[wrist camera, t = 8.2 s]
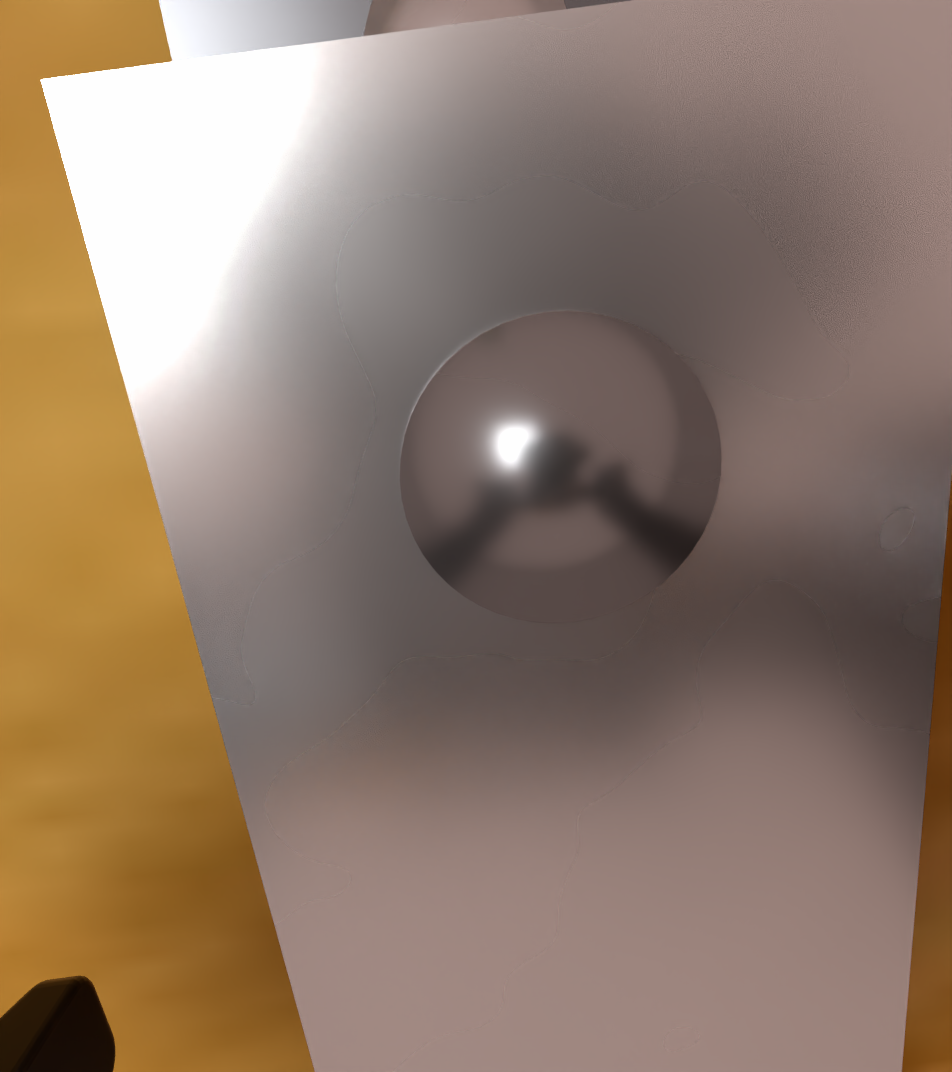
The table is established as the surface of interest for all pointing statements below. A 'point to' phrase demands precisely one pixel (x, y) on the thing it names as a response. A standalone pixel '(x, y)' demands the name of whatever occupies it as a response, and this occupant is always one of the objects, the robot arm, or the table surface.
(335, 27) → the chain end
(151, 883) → the table surface
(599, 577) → the master link
